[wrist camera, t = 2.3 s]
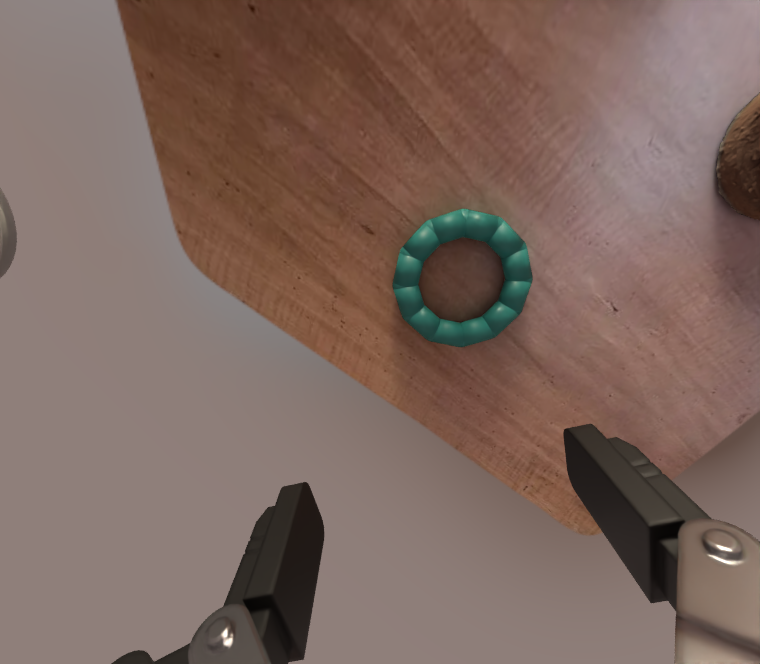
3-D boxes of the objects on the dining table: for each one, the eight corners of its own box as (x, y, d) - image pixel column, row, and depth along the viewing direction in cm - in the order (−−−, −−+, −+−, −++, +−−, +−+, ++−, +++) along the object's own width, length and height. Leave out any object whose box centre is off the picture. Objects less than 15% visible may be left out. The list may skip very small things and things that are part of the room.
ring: (381, 327, 28) (381, 334, 27) (411, 196, 25) (413, 196, 24) (501, 351, 29) (508, 360, 27) (544, 227, 26) (555, 229, 24)
